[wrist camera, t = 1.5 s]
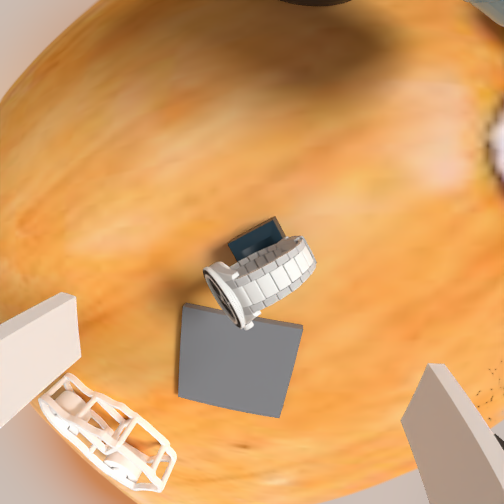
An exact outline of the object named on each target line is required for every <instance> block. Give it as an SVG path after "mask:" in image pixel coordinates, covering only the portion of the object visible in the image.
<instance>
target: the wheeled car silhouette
mask: <svg viewBox="0 0 504 504" xmlns="http://www.w3.org/2000/svg"><path fill="white" fill-rule="evenodd" d="M70 381H71V382H72V383H73V384H74V385H75V386H76V387H77V388H78V389H79V390H80V391H81V392H83V393H84V394H85V395H87V396H88V397H91V399H90V400H89V401H88V402H87V404H86V403H85V401H84V400H83V399H82V398H81V397H79V396H78V395H77V394H76V393H75V392H74V390H73V389H72V387H71V385H70ZM63 384H64V387H65V389H66V391H64V392H62V393H61V394H60V395H59V396H58V397H57V398H56V399H55V400H53V399H52V398H51V397H50V396H51V395H53V394H54V393H55V392H56V391H57V390H58V389H59V388H60V387H61V386H62V385H63ZM38 401H39V405H40V408H41V410H42V412H43V413H44V415H45V416H46V418H47V419H48V420H49V422H50V423H51V424H52V425H53V426H54V427H55V428H56V429H57V430H58V431H59V432H60V433H61V434H62V435H63V436H64V437H65V438H67V439H68V440H69V441H71V442H72V443H73V444H74V445H75V446H76V447H77V448H78V449H79V450H80V451H81V452H82V453H83V454H84V455H85V456H86V457H87V458H88V459H89V460H90V461H91V462H93V463H94V464H95V465H96V466H97V467H98V468H99V469H101V470H102V471H103V472H104V473H106V474H107V475H109V476H110V477H112V478H113V479H115V480H117V481H118V482H120V483H121V484H123V485H124V486H126V487H128V488H130V489H131V490H134V491H139V490H147V491H154V492H161V491H162V490H163V489H164V487H165V485H166V482H167V480H168V478H169V476H170V473H171V471H172V469H173V467H174V464H175V462H176V460H177V455H176V452H175V451H174V450H173V449H172V448H171V447H170V443H169V441H168V440H167V439H166V438H165V437H164V436H163V435H162V434H161V433H159V432H158V431H157V430H156V429H155V428H154V427H153V426H152V425H150V424H149V423H148V422H147V421H146V420H145V419H143V418H142V417H141V416H139V414H138V413H136V412H133V411H132V410H131V409H130V408H128V407H127V406H126V405H125V404H124V403H121V402H118V401H115V400H113V399H111V398H110V397H108V396H106V395H104V394H102V393H99V392H96V391H92V390H90V389H89V388H87V387H86V386H85V385H84V384H83V383H82V382H81V381H80V380H79V379H78V378H77V377H76V376H74V375H73V374H71V373H66V374H65V375H64V376H63V377H62V378H61V379H60V380H59V381H58V382H57V383H56V384H55V385H54V386H52V387H51V388H50V389H49V390H48V391H47V392H46V393H45V394H43V395H42V396H41V397H40V398H39V399H38ZM96 401H97V402H98V403H99V404H100V405H101V406H102V407H103V408H104V409H105V410H106V411H107V412H108V413H109V414H110V415H111V416H112V417H113V418H114V419H115V420H116V421H117V422H118V423H119V424H120V425H119V426H118V428H117V429H116V430H115V432H114V431H113V430H112V429H111V428H110V427H109V426H108V424H107V423H106V422H105V421H104V420H103V419H102V418H101V417H100V416H99V415H98V414H97V413H96V412H94V411H93V410H92V409H90V408H91V407H92V406H93V405H94V404H95V402H96ZM114 408H116V409H119V410H121V411H122V412H123V413H124V414H125V415H127V416H128V417H129V418H130V419H128V420H125V419H124V418H123V417H122V416H121V415H120V414H119V413H118V412H117V411H116V410H115V409H114ZM91 417H92V418H93V419H94V420H95V421H96V422H97V423H98V424H99V425H100V426H101V427H102V429H103V430H102V429H99V428H96V427H94V426H92V425H91V424H89V423H87V422H88V421H89V420H90V418H91ZM136 423H138V424H139V425H141V426H142V427H143V428H144V429H145V430H146V431H148V432H149V433H150V434H151V435H152V436H153V437H154V438H156V439H157V440H158V441H159V443H160V444H161V447H160V449H159V451H158V453H157V455H154V456H152V457H149V456H147V455H145V454H144V453H142V452H140V451H139V450H137V449H136V448H134V447H133V446H131V445H129V444H128V443H126V442H125V440H126V439H127V437H128V435H129V434H130V432H131V431H132V429H133V428H134V426H135V425H136ZM125 427H126V429H125V430H124V432H123V433H122V435H121V436H120V437H119V435H120V433H121V432H122V431H123V429H124V428H125ZM79 432H80V433H81V434H82V435H83V436H84V437H85V438H87V439H88V440H89V441H90V442H91V443H92V445H91V447H90V448H89V449H88V447H87V446H86V445H85V444H84V443H83V442H82V441H80V440H79V439H78V438H77V437H76V435H77V434H78V433H79ZM102 440H103V441H104V442H105V443H106V444H104V443H103V442H101V441H102ZM96 448H97V449H99V450H100V451H101V452H102V453H103V454H105V455H107V457H106V458H105V460H104V461H103V462H102V461H101V460H100V459H99V458H98V457H97V456H96V455H94V454H93V452H94V451H95V450H96ZM164 452H166V453H167V454H168V455H163V454H164ZM159 462H169V464H168V466H167V468H166V471H165V473H164V475H163V477H162V479H161V480H160V479H159V478H158V477H157V476H156V472H155V471H156V469H157V467H158V464H159ZM146 463H152V465H151V467H149V466H148V465H147V464H146ZM142 471H143V472H144V474H145V475H146V476H147V477H148V479H149V480H150V481H151V482H152V483H138V484H136V482H137V481H138V479H139V477H140V475H141V473H142Z"/></svg>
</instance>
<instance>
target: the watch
mask: <svg viewBox="0 0 504 504" xmlns="http://www.w3.org/2000/svg"><path fill="white" fill-rule="evenodd" d="M228 246H229V247H230V249H231V251H232V253H233V255H234V256H235V258H236V260H237V263H235V264H233V265H231V266H230V267H228V266H227V265H226V264H224V263H223V262H216V263H214V264H212V265H210V266H209V267H205V268H203V274H204V277H205V280H206V282H207V284H208V286H209V288H210V290H211V292H212V294H213V296H214V297H215V299H216V300H217V302H218V304H219V305H220V307H221V308H222V310H223V311H224V312H225V314H226V315H227V316H228V317H229V319H230V320H231V321H232V322H233V323H234V324H235V325H236V326H237V327H238V328H240V329H242V328H244V330H248V329H250V328H252V327H253V326H254V324H253V322H252V320H253V319H254V318H256V317H257V316H258V315H260V314H261V312H260V310H261V309H263V308H265V307H268V306H270V305H272V304H274V303H275V302H277V301H278V300H281V299H282V298H284V297H285V296H287V295H288V294H290V293H291V292H293V291H294V290H296V289H297V288H298V287H299V286H300V285H302V283H303V282H305V281H306V280H307V279H308V278H309V276H310V275H311V274H312V273H313V271H314V270H315V268H316V263H317V262H316V260H315V258H314V255H313V253H312V251H311V249H310V247H309V246H308V244H307V242H306V240H305V239H304V237H303V236H292V237H288V236H285V234H284V232H283V230H282V228H281V226H280V225H279V223H278V221H277V219H276V217H273V218H271V219H269V220H267V221H265V222H263V223H261V224H260V225H258V226H256V227H254V228H252V229H250V230H248V231H246V232H245V233H243V234H241V235H239V236H237V237H235V238H234V239H233V240H232V241H230V242H229V243H228ZM276 295H277V296H276ZM277 297H278V298H277Z"/></svg>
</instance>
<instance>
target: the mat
mask: <svg viewBox="0 0 504 504" xmlns="http://www.w3.org/2000/svg"><path fill="white" fill-rule="evenodd" d="M252 322H253V324H254V326H253V327H252V328H250V329H248V330H244V328H242V329H240V328H238V327H237V326H236V325H235V324H234V323H233V322H232V321H231V320H230V319H229V317H228V316H227V315H226V314H225V312H224V311H223V310H218V309H213V308H209V307H204V306H199V305H195V304H190V303H185V304H184V306H183V312H182V327H181V343H180V362H179V387H178V397H182V398H185V399H189V400H193V401H197V402H201V403H205V404H209V405H213V406H218V407H222V408H227V409H232V410H236V411H241V412H246V413H252V414H257V415H263V416H269V417H275V418H279V417H280V414H281V411H282V407H283V404H284V400H285V396H286V393H287V389H288V386H289V382H290V378H291V375H292V371H293V367H294V363H295V359H296V355H297V351H298V347H299V343H300V339H301V335H302V331H303V325H299V324H293V323H287V322H282V321H276V320H270V319H265V318H259V317H256V318H254V319H253V320H252Z"/></svg>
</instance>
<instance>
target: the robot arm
mask: <svg viewBox="0 0 504 504" xmlns="http://www.w3.org/2000/svg"><path fill="white" fill-rule="evenodd" d="M280 1H284V2H288V3H292V4H298V5H306V6H329V5H336V4H341V3H345V2H348V1H351V0H280ZM464 1H466V2H469V3H471V4H472V5H474V6H475V7H476V8H478V9H479V10H480V11H481V12H483V13H484V14H485V15H486V16H488V17H489V18H490V19H491V20H493V21H494V22H495V23H497V24H499V25H500V26H503V27H504V0H464ZM79 358H81V349H80V341H79V331H78V320H77V306H76V296H73V295H70V294H67V293H64V292H61V293H59V294H57V295H55V296H53V297H51V298H49V299H47V300H45V301H43V302H41V303H39V304H37V305H35V306H34V307H32V308H30V309H28V310H26V311H24V312H22V313H20V314H19V315H17V316H15V317H13V318H11V319H9V320H7V321H6V322H4V323H2V324H0V428H1V427H3V426H4V425H5V424H6V423H7V422H8V421H9V420H10V419H11V418H12V417H14V416H15V415H16V414H17V413H18V412H19V411H20V410H21V409H22V408H24V406H26V405H27V404H28V403H29V402H30V401H31V400H32V399H34V398H35V397H36V396H37V395H38V394H39V393H40V392H42V391H43V390H44V389H45V388H46V387H47V386H48V385H49V384H51V383H52V382H53V381H54V380H55V379H56V378H57V377H59V376H60V375H61V374H62V373H63V372H64V371H66V370H67V369H68V368H69V367H70V366H71V365H72V364H74V363H75V362H76V361H77V360H78V359H79ZM401 423H402V426H403V428H404V431H405V433H406V436H407V439H408V441H409V444H410V447H411V450H412V452H413V455H414V458H415V461H416V464H417V466H418V469H419V472H420V475H421V478H422V481H423V484H424V487H425V490H426V493H427V496H428V500H429V503H430V504H504V441H503V440H502V439H500V438H499V437H498V436H497V435H496V434H493V433H492V431H491V430H490V428H489V427H488V425H487V424H486V422H485V421H484V419H483V418H482V416H481V415H480V413H479V412H478V410H477V409H476V407H475V406H474V404H473V403H472V402H471V400H470V399H469V397H468V396H467V394H466V393H465V392H464V390H463V389H462V387H461V386H460V385H459V383H458V382H457V380H456V379H455V378H454V376H453V375H452V374H451V372H450V371H449V370H448V368H447V367H446V366H445V364H433V363H428V364H427V367H426V369H425V371H424V373H423V376H422V378H421V380H420V382H419V385H418V387H417V389H416V391H415V393H414V395H413V397H412V399H411V401H410V403H409V405H408V407H407V409H406V411H405V413H404V415H403V417H402V419H401Z"/></svg>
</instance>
